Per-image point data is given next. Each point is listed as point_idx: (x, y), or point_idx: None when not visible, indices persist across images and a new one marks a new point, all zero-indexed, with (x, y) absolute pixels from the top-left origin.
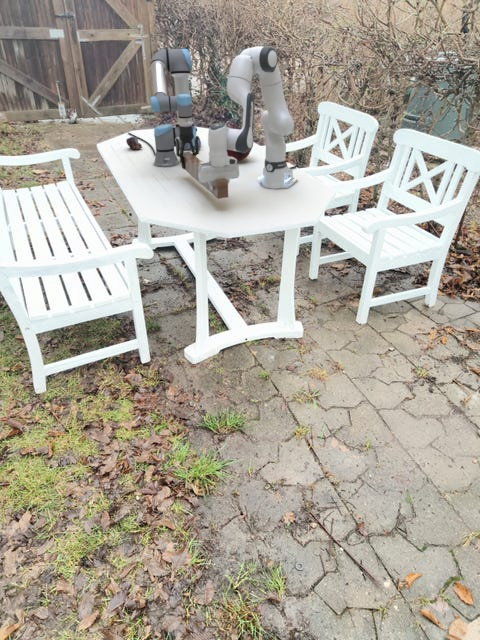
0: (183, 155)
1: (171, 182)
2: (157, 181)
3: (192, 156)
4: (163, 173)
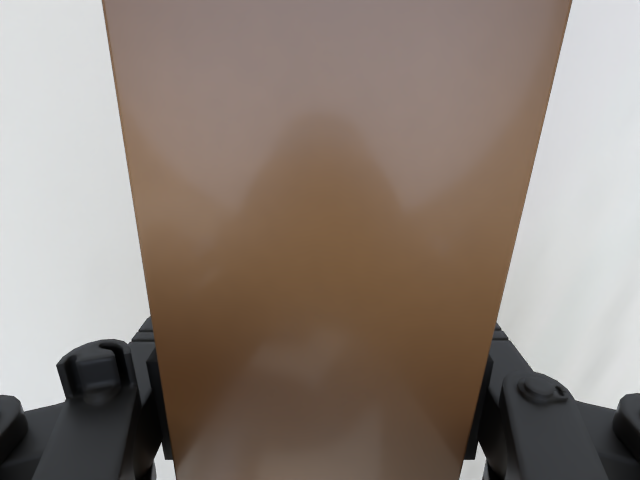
0: (462, 437)
1: (531, 211)
2: (630, 300)
3: (252, 149)
4: (464, 469)
